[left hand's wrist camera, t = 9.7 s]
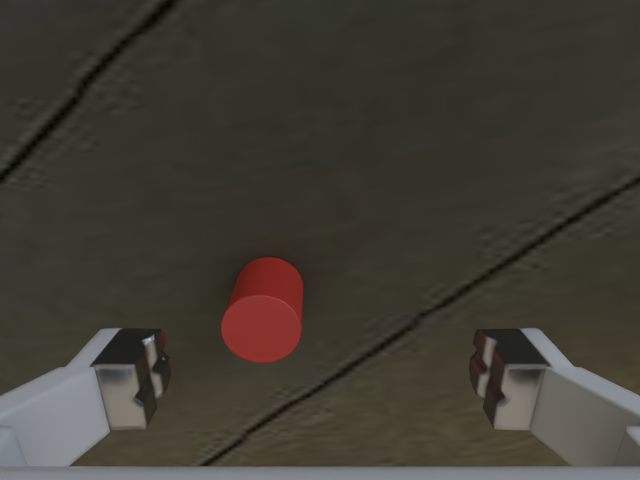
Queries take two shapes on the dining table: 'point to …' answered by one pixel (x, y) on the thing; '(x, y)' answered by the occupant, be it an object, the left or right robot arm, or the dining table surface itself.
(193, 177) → the dining table surface
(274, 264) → the can
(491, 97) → the dining table surface
